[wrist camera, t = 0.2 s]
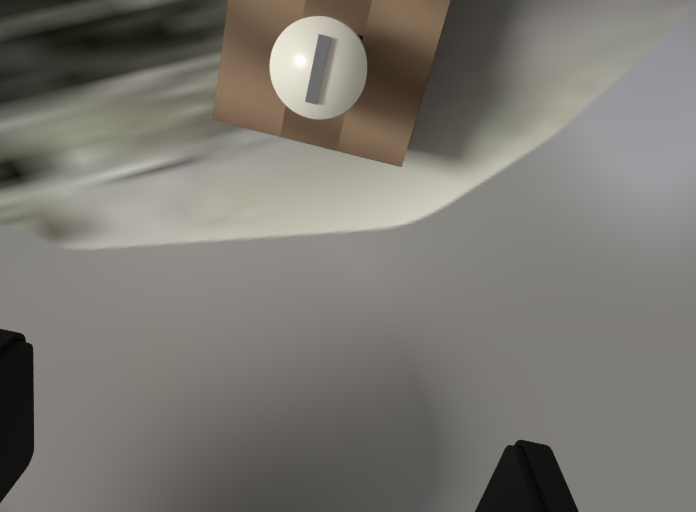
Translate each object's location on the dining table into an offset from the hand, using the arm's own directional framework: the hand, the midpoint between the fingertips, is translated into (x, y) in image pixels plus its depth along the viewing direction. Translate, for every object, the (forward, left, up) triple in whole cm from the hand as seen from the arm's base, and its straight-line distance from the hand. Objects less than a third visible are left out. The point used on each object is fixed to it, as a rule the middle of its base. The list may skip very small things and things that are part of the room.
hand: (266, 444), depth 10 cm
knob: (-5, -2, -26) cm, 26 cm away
